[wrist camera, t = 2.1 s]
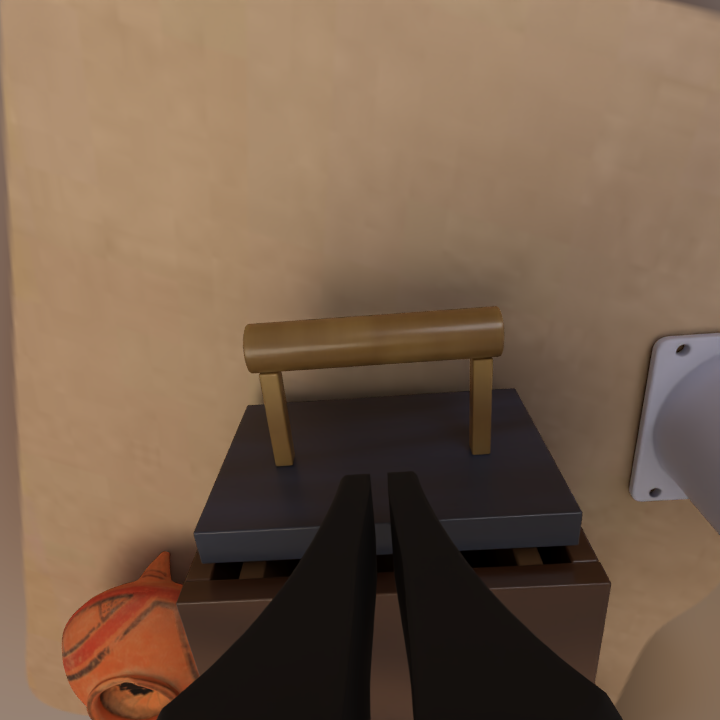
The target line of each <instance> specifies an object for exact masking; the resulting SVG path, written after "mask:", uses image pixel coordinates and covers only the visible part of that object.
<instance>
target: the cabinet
mask: <svg viewBox="0 0 720 720" xmlns="http://www.w3.org/2000/svg"><path fill="white" fill-rule="evenodd" d="M537 549H538V552H539V554H540V557H541V559H542V562H543V564H542V565H521V566H500V567H479V568H472V569H473V570H474V571H475V572H476V574H477V575H478V576H479V577H480V578H481V580H482V581H483V582H484V583H485V584H486V586H487V587H488V588H489V589H490V590H491V591H492V592H493V593H494V595H495V596H496V597H497V598H498V599H499V600H500V601H501V602H502V603H503V604H504V605H505V606H506V607H507V609H508V610H510V611H511V612H512V613H513V614H514V615H515V616H516V617H517V618H518V619H519V620H520V621H521V622H522V623H523V624H524V625H525V626H526V627H527V628H528V629H529V630H530V631H531V632H532V633H533V634H534V635H535V636H536V637H538V638H539V639H540V640H541V641H542V642H543V643H544V644H545V645H547V646H548V647H549V648H550V649H551V650H552V651H554V652H555V653H556V654H557V655H558V656H559V657H560V658H562V659H563V660H564V661H565V662H567V663H568V664H569V665H570V666H572V667H573V668H574V669H575V670H577V671H578V672H579V673H580V674H582V675H583V676H584V677H586V678H587V679H588V680H590V681H591V682H592V683H594V684H595V678H596V672H597V666H598V660H599V654H600V648H601V642H602V636H603V630H604V624H605V618H606V612H607V606H608V600H609V594H610V588H611V582H610V580H609V578H608V576H607V574H606V572H605V571H604V569H603V567H602V565H601V563H600V562H599V560H598V558H597V556H596V554H595V553H594V551H593V549H592V547H591V545H590V543H589V541H588V539H587V537H586V535H585V533H584V531H583V529H582V528H581V529H580V537H579V544H578V545H570V546H550V547H537ZM242 565H243V562H228V563H208V564H202V562H201V559H200V555H199V552H198V550H197V552H196V555H195V557H194V560H193V562H192V565H191V567H190V570H189V572H188V575H187V577H186V580H185V582H184V584H183V587H182V589H181V592H180V594H179V597H178V599H177V602H176V606H177V609H178V612H179V615H180V618H181V621H182V624H183V627H184V630H185V633H186V636H187V639H188V642H189V646H190V649H191V652H192V655H193V658H194V661H195V664H196V667H197V670H198V673H199V676H201V675H202V674H203V673H204V672H205V671H206V670H207V669H208V668H209V667H211V666H212V665H213V664H214V663H215V662H216V661H217V660H218V659H219V658H220V657H221V656H222V655H223V654H224V653H225V652H226V651H227V650H228V649H229V648H230V646H231V645H232V644H233V643H234V642H235V641H236V640H237V639H238V638H239V637H240V636H241V635H242V634H243V633H244V632H245V631H246V630H247V629H248V628H249V627H250V626H251V624H252V623H253V622H254V621H255V620H256V619H257V617H258V616H259V615H260V614H261V613H262V611H263V610H264V609H265V608H266V607H267V605H268V604H269V603H270V602H271V601H272V599H273V598H274V597H275V596H276V594H277V593H278V592H279V590H280V589H281V588H282V586H283V585H284V584H285V582H286V581H287V579H288V578H289V577H271V578H250V579H239V576H240V573H241V569H242ZM370 710H371V720H413V707H412V693H411V683H410V675H409V666H408V660H407V654H406V647H405V641H404V635H403V628H402V622H401V615H400V609H399V603H398V596H397V590H396V583H395V577H394V572H377V589H376V604H375V618H374V632H373V646H372V660H371V681H370Z"/></svg>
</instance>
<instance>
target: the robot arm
mask: <svg viewBox="0 0 720 720" xmlns="http://www.w3.org/2000/svg"><path fill="white" fill-rule="evenodd" d="M683 344H684V345H685V346H684V348H683V350H681V351H680V352H677V353H676V350H677V348H678V347H679V346H680V345H683ZM387 476H388V496H389V510H390V523H391V537H392V550H393V563H394V577H395V583H396V590H397V596H398V603H399V609H400V615H401V622H402V628H403V635H404V641H405V647H406V654H407V660H408V666H409V675H410V683H411V693H412V707H413V720H623V719H622V717H621V716H620V714H619V713H618V711H617V709H616V708H615V706H614V705H613V703H612V701H611V700H610V698H609V697H608V695H607V694H606V692H604V691H603V690H602V689H600V688H599V687H598V686H596V685H595V684H594V683H592V682H591V681H590V680H588V679H587V678H586V677H584V676H583V675H582V674H580V673H579V672H578V671H577V670H575V669H574V668H573V667H572V666H570V665H569V664H568V663H567V662H565V661H564V660H563V659H562V658H560V657H559V656H558V655H557V654H556V653H555V652H554V651H552V650H551V649H550V648H549V647H548V646H547V645H545V644H544V643H543V642H542V641H541V640H540V639H539V638H538V637H536V636H535V635H534V634H533V633H532V632H531V631H530V630H529V629H528V628H527V627H526V626H525V625H524V624H523V623H522V622H521V621H520V620H519V619H518V618H517V617H516V616H515V615H514V614H513V613H512V612H511V611H510V610H508V609H507V607H506V606H505V605H504V604H503V603H502V602H501V601H500V600H499V599H498V598H497V597H496V596H495V595H494V593H493V592H492V591H491V590H490V589H489V588H488V587H487V586H486V584H485V583H484V582H483V581H482V580H481V578H480V577H479V576H478V575H477V574H476V572H475V571H474V570H473V569H472V567H471V566H470V565H469V564H468V562H467V561H466V560H465V558H464V557H463V555H462V554H461V553H460V551H459V550H458V549H457V547H456V546H455V544H454V543H453V541H452V540H451V538H450V537H449V536H448V534H447V532H446V531H445V529H444V528H443V526H442V524H441V523H440V521H439V519H438V518H437V516H436V515H435V513H434V511H433V509H432V507H431V506H430V504H429V502H428V500H427V498H426V496H425V494H424V492H423V489H422V487H421V485H420V482H419V479H418V476H417V474H416V473H414V472H413V471H405V472H388V473H387ZM654 488H656V489H655V490H654V491H651V490H652V489H654ZM650 491H651V492H650ZM629 493H630V494H631V496H632V497H633V498H634V499H635V500H636V501H659V500H678V499H690V501H691V502H692V503H693V504H694V505H695V506H696V508H697V509H698V510H699V511H700V512H701V514H702V515H703V516H704V517H705V518H706V519H707V521H708V522H709V523H710V524H711V525H712V527H713V528H714V529H715V530H716V531H717V533H718V534H719V535H720V333H707V334H693V335H678V336H666V337H662V338H661V339H659V340H658V341H657V342H656V343H655V344H654V346H653V349H652V355H651V361H650V367H649V373H648V379H647V385H646V391H645V397H644V403H643V409H642V414H641V420H640V426H639V432H638V438H637V444H636V450H635V456H634V462H633V468H632V474H631V480H630V486H629ZM376 589H377V555H376V533H375V522H374V511H373V500H372V490H371V479H370V474H353V475H345V476H344V477H343V478H342V479H341V481H340V484H339V487H338V489H337V492H336V495H335V497H334V499H333V502H332V504H331V506H330V508H329V510H328V512H327V514H326V516H325V518H324V520H323V522H322V524H321V526H320V528H319V530H318V531H317V533H316V535H315V537H314V539H313V541H312V542H311V544H310V545H309V547H308V549H307V550H306V552H305V554H304V555H303V557H302V558H301V560H300V562H299V563H298V565H297V566H296V568H295V569H294V571H293V572H292V574H291V575H290V577H289V578H288V579H287V581H286V582H285V584H284V585H283V586H282V588H281V589H280V590H279V592H278V593H277V594H276V596H275V597H274V598H273V599H272V601H271V602H270V603H269V604H268V605H267V607H266V608H265V609H264V610H263V611H262V613H261V614H260V615H259V616H258V617H257V619H256V620H255V621H254V622H253V623H252V624H251V626H250V627H249V628H248V629H247V630H246V631H245V632H244V633H243V634H242V635H241V636H240V637H239V638H238V639H237V640H236V641H235V642H234V643H233V644H232V645H231V646H230V648H229V649H228V650H227V651H226V652H225V653H224V654H223V655H222V656H221V657H220V658H219V659H218V660H217V661H216V662H215V663H214V664H213V665H212V666H211V667H209V668H208V669H207V670H206V671H205V672H204V673H203V674H202V675H201V676H200V677H198V678H197V679H196V680H195V681H194V682H193V683H191V684H190V685H189V686H188V687H187V688H186V689H185V690H183V691H182V692H181V693H180V694H179V695H178V696H177V697H175V698H174V699H173V700H172V701H171V702H169V703H168V704H167V705H166V706H164V707H163V708H162V709H161V711H160V713H159V715H158V717H157V719H156V720H371V710H370V681H371V660H372V646H373V632H374V618H375V604H376Z"/></svg>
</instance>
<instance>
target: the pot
mask: <svg viewBox="0 0 720 720" xmlns="http://www.w3.org/2000/svg"><path fill="white" fill-rule="evenodd" d="M182 587H183V585H181V584H178V583H175V582H173V581H172V580H171V573H170V553H169V552H166V551H164V552H162V553H161V554H160V555H159V556H158V557H157V558H156V559H155V560H154V561H153V562H152V563H151V564H150V565H149V566H148V567H147V569H146V570H145V571H144V573H143V574H142V576H141V577H140V578H139V579H138V580H137V581H135V582H131V583H126V584H123V585H120V586H117V587H114V588H112V589H109V590H107V591H105V592H103V593H101V594H99V595H97V596H95V597H93V598H92V599H90V600H89V601H88V602H87V603H85V604H84V605H83V606H82V607H81V608H79V609H78V610H77V611H76V612H75V613H74V614H73V615H72V617H71V618H70V619H69V621H68V623H67V624H66V626H65V629H64V632H63V637H62V657H63V665H64V669H65V673H66V676H67V678H68V681H69V684H70V686H71V688H72V689H73V691H74V693H75V694H76V695H77V697H78V698H79V699H80V700H81V701H82V702H83V703H84V704H85V705H86V706H87V711H88V714H89V716H90V718H91V719H92V720H156V719H157V717H158V715H159V713H160V711H161V709H162V708H163V707H164V706H166V705H167V704H168V703H169V702H171V701H172V700H173V699H174V698H175V697H177V696H178V695H179V694H180V693H181V692H182V691H183V690H185V689H186V688H187V687H188V686H189V685H190V684H191V683H193V682H194V681H195V680H196V679H197V678H198V677H200V676H199V673H198V670H197V667H196V664H195V661H194V658H193V655H192V652H191V649H190V646H189V642H188V639H187V636H186V633H185V630H184V627H183V624H182V621H181V618H180V615H179V612H178V609H177V606H176V602H177V599H178V597H179V594H180V592H181V589H182Z"/></svg>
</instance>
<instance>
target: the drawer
mask: <svg viewBox="0 0 720 720" xmlns="http://www.w3.org/2000/svg"><path fill="white" fill-rule="evenodd" d="M503 348H504V324H503V318H502V314H501V311H500V309H499V308H498V307H497V306H492V307H478V308H464V309H450V310H437V311H423V312H409V313H395V314H381V315H368V316H354V317H340V318H326V319H312V320H299V321H285V322H271V323H257V324H248V325H247V326H246V327H245V330H244V337H243V349H244V357H245V362H246V365H247V368H248V370H249V372H251V373H260V375H259V378H260V383H261V389H262V394H263V399H264V404H261V405H248V406H247V408H246V410H245V413H244V415H243V418H242V420H241V422H240V425H239V427H238V429H237V432H236V434H235V436H234V439H233V441H232V443H231V446H230V448H229V451H228V453H227V455H226V458H225V460H224V462H223V465H222V467H221V469H220V472H219V474H218V476H217V479H216V481H215V484H214V486H213V488H212V491H211V493H210V495H209V498H208V500H207V502H206V505H205V507H204V509H203V512H202V514H201V517H200V519H199V521H198V524H197V526H196V528H195V531H194V538H195V541H196V545H197V548H198V552H199V555H200V559H201V562H202V564H208V563H228V562H243V565H242V569H241V573H240V576H239V579H250V578H271V577H290V575H291V574H292V572H293V571H294V569H295V568H296V566H297V565H298V563H299V562H300V560H301V558H302V557H303V555H304V554H305V552H306V550H307V549H308V547H309V545H310V544H311V542H312V541H313V539H314V537H315V535H316V533H317V531H318V530H319V528H320V526H321V524H322V522H323V520H324V518H325V516H326V514H327V512H328V510H329V508H330V506H331V504H332V502H333V499H334V497H335V495H336V492H337V489H338V487H339V484H340V481H341V479H342V478H343V477H344V476H345V475H353V474H370V479H371V490H372V500H373V511H374V522H375V533H376V555H377V572H394V563H393V550H392V537H391V523H390V510H389V496H388V476H387V473H388V472H405V471H413V472H414V473H416V474H417V476H418V479H419V482H420V485H421V487H422V489H423V492H424V494H425V496H426V498H427V500H428V502H429V504H430V506H431V507H432V509H433V511H434V513H435V515H436V516H437V518H438V519H439V521H440V523H441V524H442V526H443V528H444V529H445V531H446V532H447V534H448V536H449V537H450V538H451V540H452V541H453V543H454V544H455V546H456V547H457V549H458V550H459V551H460V553H461V554H462V555H463V557H464V558H465V560H466V561H467V562H468V564H469V565H470V566H471V567H472V568H479V567H500V566H521V565H542V564H543V562H542V559H541V557H540V554H539V552H538V549H537V547H550V546H570V545H578V544H579V537H580V529H581V521H582V511H581V509H580V507H579V506H578V504H577V502H576V500H575V498H574V496H573V494H572V493H571V491H570V489H569V487H568V485H567V483H566V482H565V480H564V478H563V476H562V474H561V472H560V471H559V469H558V467H557V465H556V463H555V461H554V459H553V458H552V456H551V454H550V452H549V450H548V448H547V447H546V445H545V443H544V441H543V439H542V437H541V435H540V434H539V432H538V430H537V428H536V426H535V424H534V423H533V421H532V419H531V417H530V415H529V413H528V412H527V410H526V408H525V406H524V404H523V402H522V400H521V399H520V397H519V395H518V393H517V391H516V389H515V388H509V389H493V390H492V377H493V359H492V357H499V356H501V355H502V352H503ZM457 359H470V391H462V392H447V393H431V394H416V395H400V396H385V397H370V398H354V399H339V400H323V401H308V402H292V403H286V397H285V391H284V385H283V379H282V372H281V371H294V370H309V369H324V368H339V367H353V366H368V365H383V364H398V363H413V362H427V361H442V360H457Z"/></svg>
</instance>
